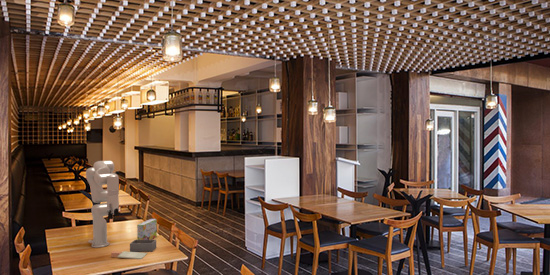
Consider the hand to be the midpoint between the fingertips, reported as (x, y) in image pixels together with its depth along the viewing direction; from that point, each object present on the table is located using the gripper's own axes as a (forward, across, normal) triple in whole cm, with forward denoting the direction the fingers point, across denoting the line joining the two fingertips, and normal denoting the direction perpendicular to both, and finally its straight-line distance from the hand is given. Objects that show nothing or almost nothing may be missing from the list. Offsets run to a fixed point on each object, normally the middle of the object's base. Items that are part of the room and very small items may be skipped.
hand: (113, 217), depth 275 cm
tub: (+27, -14, +16) cm, 35 cm away
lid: (+28, +1, +10) cm, 30 cm away
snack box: (+28, -39, +10) cm, 50 cm away
